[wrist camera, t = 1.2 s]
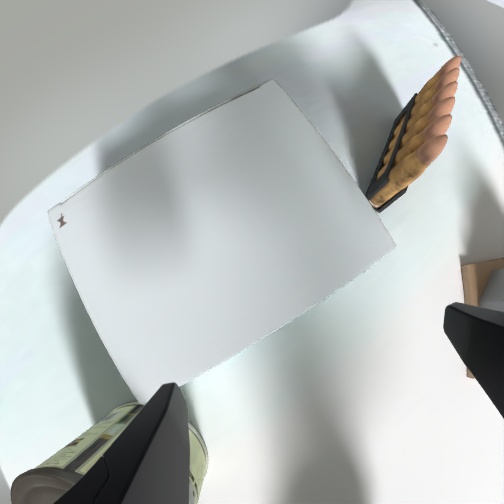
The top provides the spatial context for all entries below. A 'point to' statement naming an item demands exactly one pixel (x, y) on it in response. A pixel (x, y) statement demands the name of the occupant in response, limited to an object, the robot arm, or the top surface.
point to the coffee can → (88, 452)
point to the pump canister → (484, 286)
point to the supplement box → (214, 238)
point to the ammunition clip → (415, 137)
